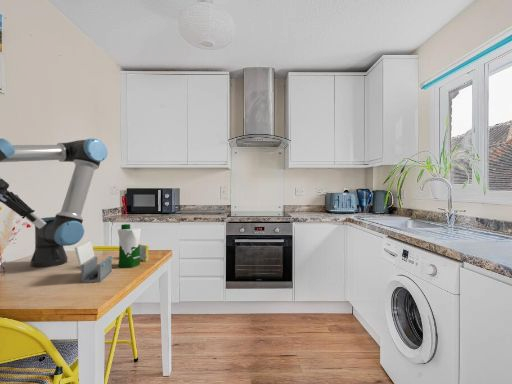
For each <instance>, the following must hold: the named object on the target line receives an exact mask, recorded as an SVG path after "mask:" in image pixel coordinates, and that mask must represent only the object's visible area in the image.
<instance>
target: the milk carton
mask: <svg viewBox="0 0 512 384" xmlns="http://www.w3.org/2000/svg"><path fill="white" fill-rule="evenodd" d="M141 232H142V228H137V227H131V224H127V223H124V224H123V223H122V224H121V225H120V228H119V229H117V233H118V238H119V239H118V241H119V242H118V243H119V244H118V248H119V249H118V250H119V252H118V268H128V269H129V268H131V269H132V268H134V267H137V266H139V265H141V261H140V243H141Z"/></svg>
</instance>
